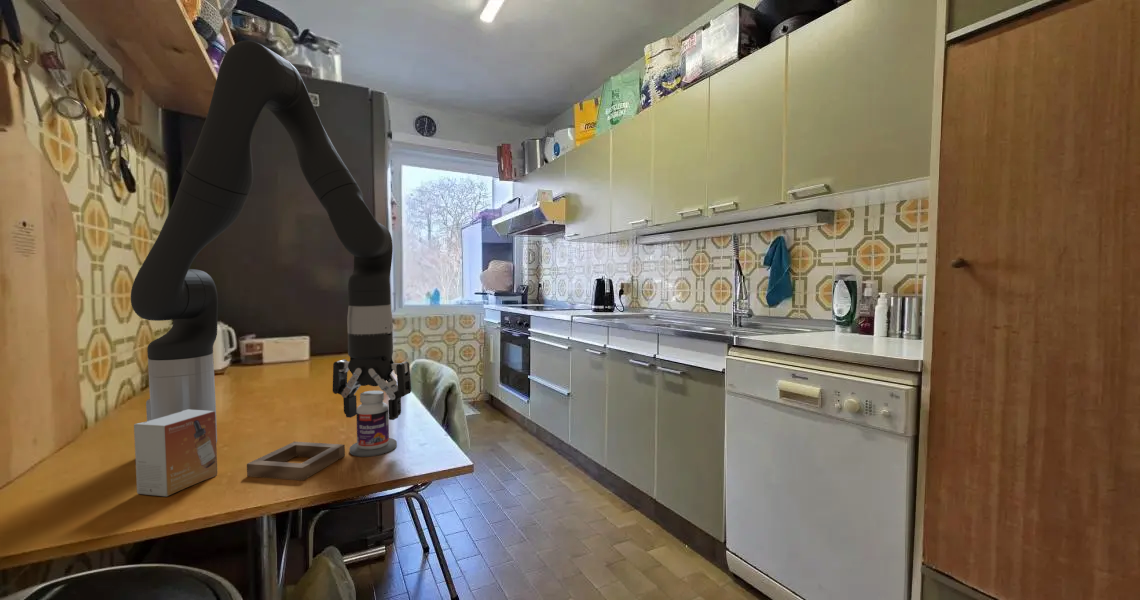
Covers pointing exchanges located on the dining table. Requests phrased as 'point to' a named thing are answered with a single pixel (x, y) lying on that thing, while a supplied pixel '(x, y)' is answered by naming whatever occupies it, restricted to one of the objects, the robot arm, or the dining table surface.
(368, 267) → the robot arm
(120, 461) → the dining table surface
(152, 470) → the small box
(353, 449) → the coaster
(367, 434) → the pill bottle
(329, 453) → the frame
